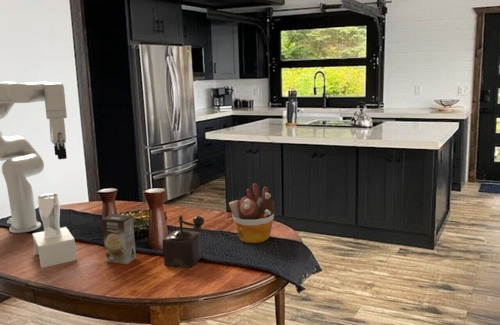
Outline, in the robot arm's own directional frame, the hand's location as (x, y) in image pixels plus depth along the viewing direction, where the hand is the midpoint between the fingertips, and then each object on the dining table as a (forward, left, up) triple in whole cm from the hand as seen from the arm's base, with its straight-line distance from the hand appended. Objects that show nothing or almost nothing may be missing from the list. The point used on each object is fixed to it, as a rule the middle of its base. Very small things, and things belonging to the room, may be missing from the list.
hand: (60, 156), depth 197 cm
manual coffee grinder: (+62, -15, -33) cm, 72 cm away
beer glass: (+10, -21, -25) cm, 35 cm away
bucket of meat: (+77, +12, -33) cm, 85 cm away
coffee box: (+37, -19, -33) cm, 53 cm away
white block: (+11, -22, -33) cm, 41 cm away
